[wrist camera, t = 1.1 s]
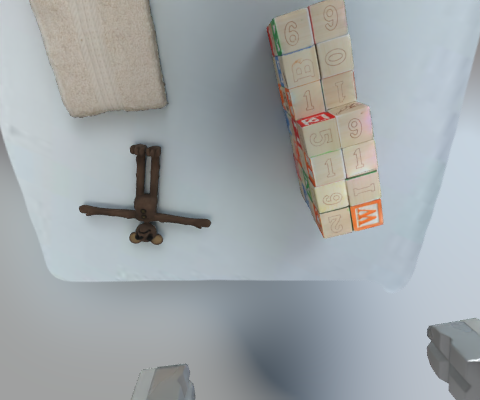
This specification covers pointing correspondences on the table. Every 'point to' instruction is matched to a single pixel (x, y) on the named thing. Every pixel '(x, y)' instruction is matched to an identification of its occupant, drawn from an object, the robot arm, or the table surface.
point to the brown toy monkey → (145, 201)
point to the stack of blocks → (326, 118)
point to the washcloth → (102, 54)
